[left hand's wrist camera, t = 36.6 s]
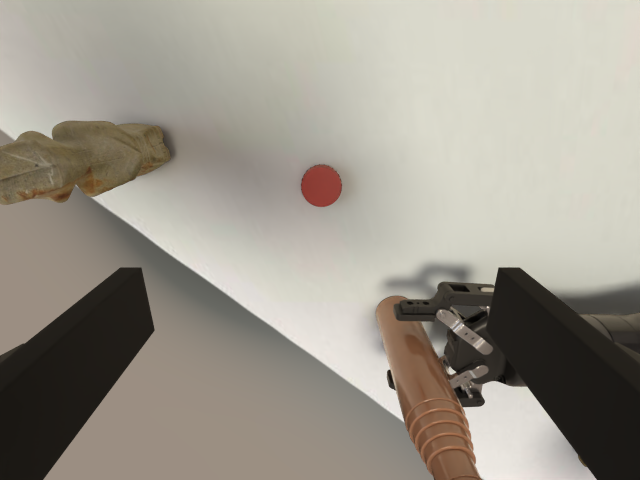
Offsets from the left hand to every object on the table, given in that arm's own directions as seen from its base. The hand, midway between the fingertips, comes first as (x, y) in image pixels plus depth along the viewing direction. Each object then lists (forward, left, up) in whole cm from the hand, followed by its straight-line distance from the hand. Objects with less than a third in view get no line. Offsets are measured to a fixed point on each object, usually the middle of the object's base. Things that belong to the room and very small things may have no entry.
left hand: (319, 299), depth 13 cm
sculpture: (-16, -10, -25) cm, 31 cm away
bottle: (+18, -7, -25) cm, 31 cm away
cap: (0, 0, -24) cm, 24 cm away
